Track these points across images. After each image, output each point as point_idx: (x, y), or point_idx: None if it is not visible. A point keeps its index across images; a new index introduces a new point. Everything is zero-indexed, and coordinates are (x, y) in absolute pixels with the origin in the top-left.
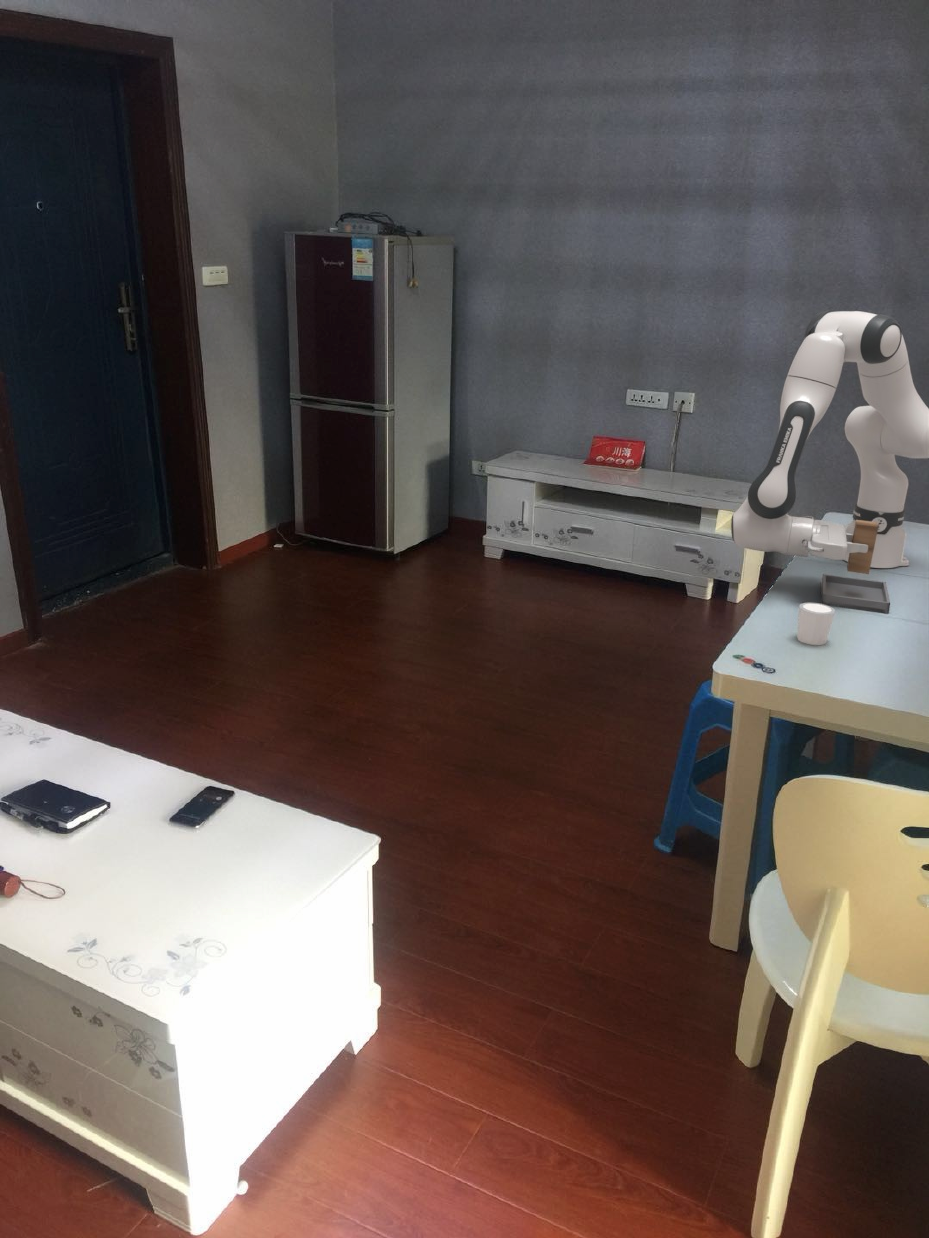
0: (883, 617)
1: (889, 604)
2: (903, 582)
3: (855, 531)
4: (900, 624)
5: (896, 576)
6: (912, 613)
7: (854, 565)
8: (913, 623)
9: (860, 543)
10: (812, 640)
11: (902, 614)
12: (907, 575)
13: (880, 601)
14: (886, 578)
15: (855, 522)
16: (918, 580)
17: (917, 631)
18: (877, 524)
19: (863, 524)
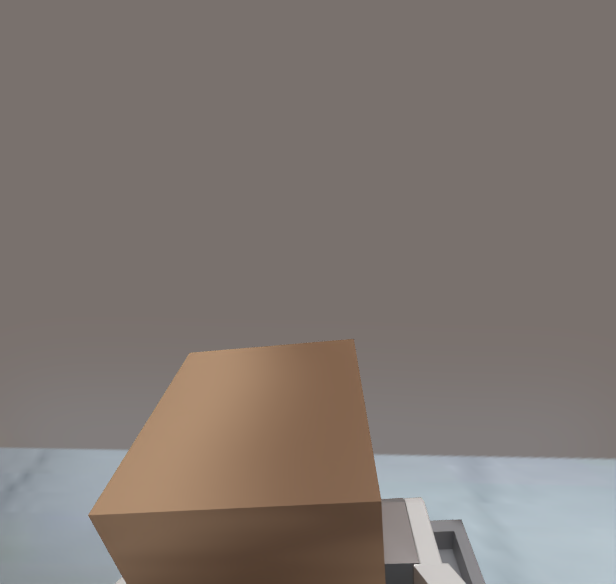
0: (522, 566)
1: (462, 525)
2: (91, 487)
3: (383, 567)
4: (547, 507)
5: (24, 506)
6: (396, 471)
7: None
8: (495, 471)
9: (402, 557)
10: None
11: (428, 498)
12: (25, 475)
13: (468, 559)
14: (35, 539)
15: (105, 540)
16: (80, 451)
17: (565, 462)
18: (271, 346)
19: (337, 427)
